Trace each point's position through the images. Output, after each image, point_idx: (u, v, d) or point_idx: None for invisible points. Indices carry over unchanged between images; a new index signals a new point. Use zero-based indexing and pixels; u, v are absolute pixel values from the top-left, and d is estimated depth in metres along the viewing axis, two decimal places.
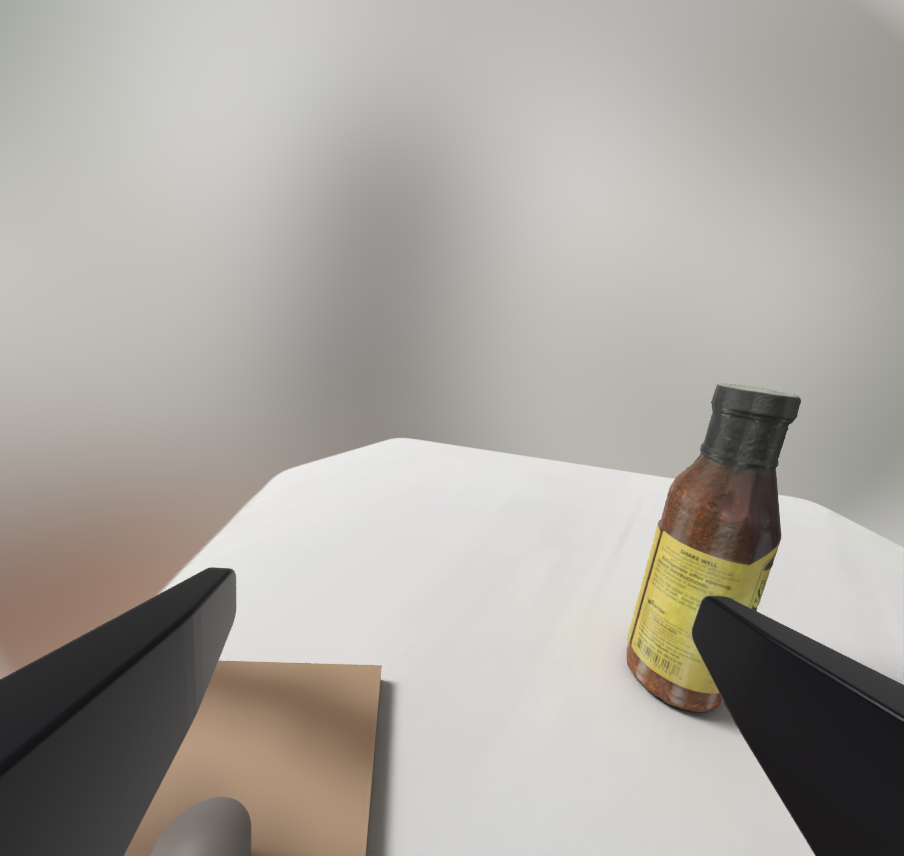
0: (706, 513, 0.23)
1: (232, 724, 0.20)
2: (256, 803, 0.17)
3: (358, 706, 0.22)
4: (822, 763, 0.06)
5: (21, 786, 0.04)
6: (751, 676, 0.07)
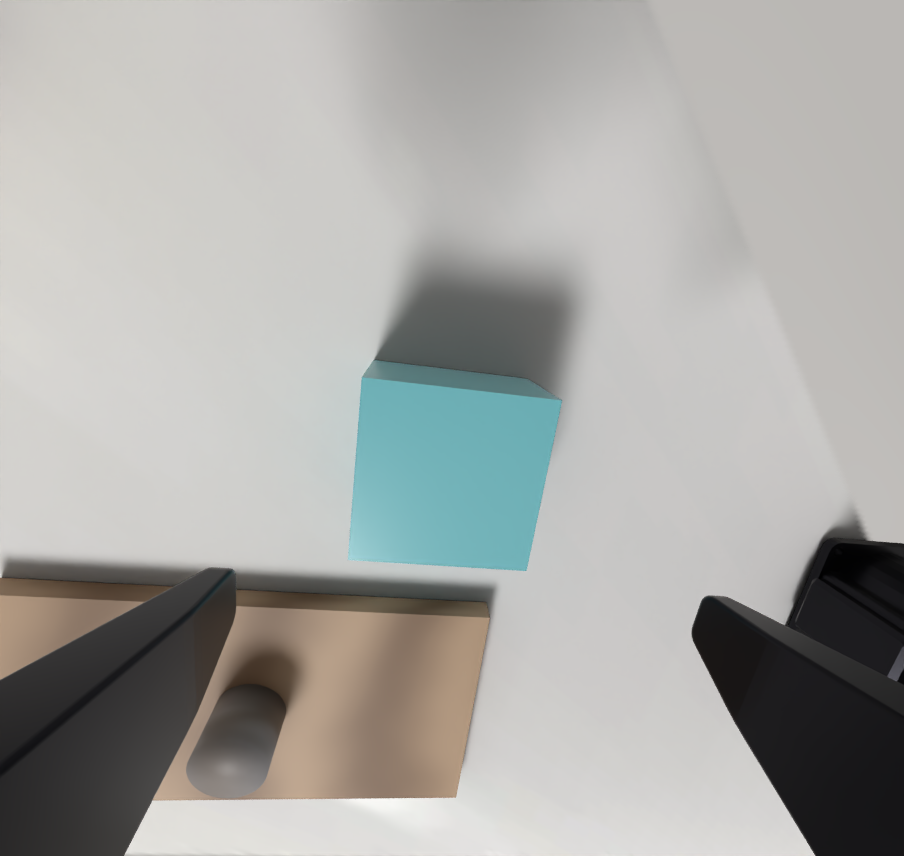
0: None
1: None
2: None
3: (56, 619, 0.16)
4: (822, 763, 0.06)
5: (21, 786, 0.04)
6: (751, 676, 0.07)
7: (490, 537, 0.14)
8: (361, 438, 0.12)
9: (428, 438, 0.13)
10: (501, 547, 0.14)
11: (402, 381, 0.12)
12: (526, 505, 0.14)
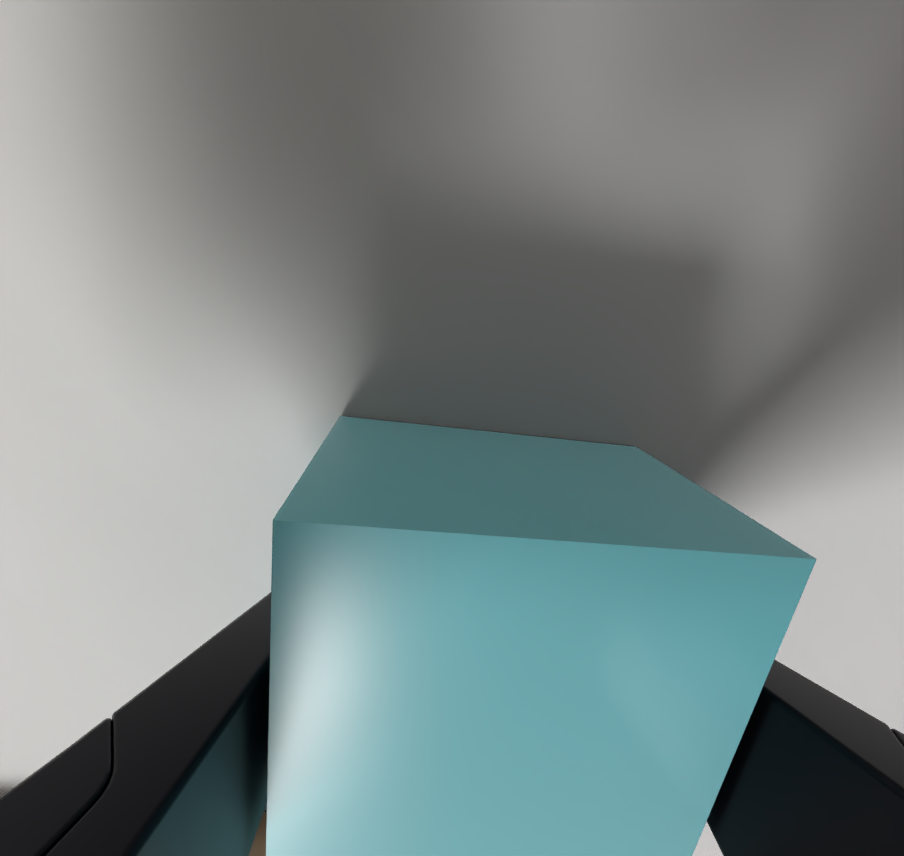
0: None
1: None
2: None
3: None
4: (733, 763, 0.06)
5: (202, 785, 0.04)
6: None
7: (601, 849, 0.06)
8: (281, 671, 0.05)
9: (463, 662, 0.05)
10: None
11: (393, 523, 0.04)
12: (691, 784, 0.06)
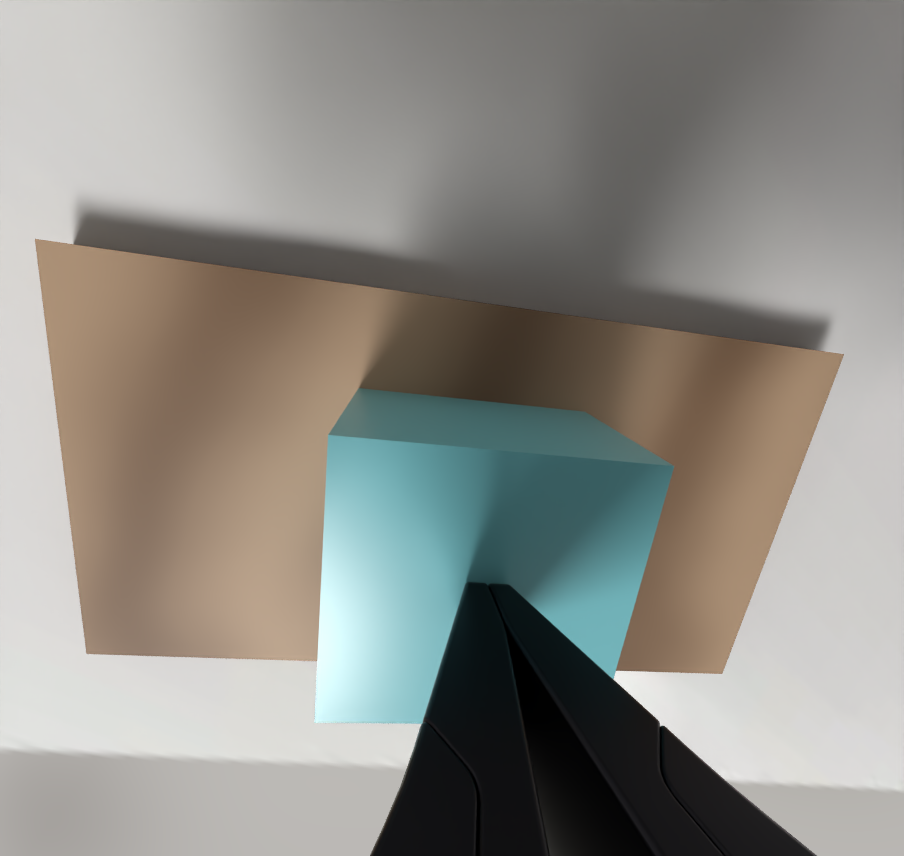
0: None
1: (223, 538, 0.11)
2: None
3: (170, 305, 0.10)
4: None
5: None
6: None
7: None
8: (330, 537, 0.07)
9: (446, 533, 0.07)
10: None
11: (400, 439, 0.07)
12: (605, 631, 0.08)
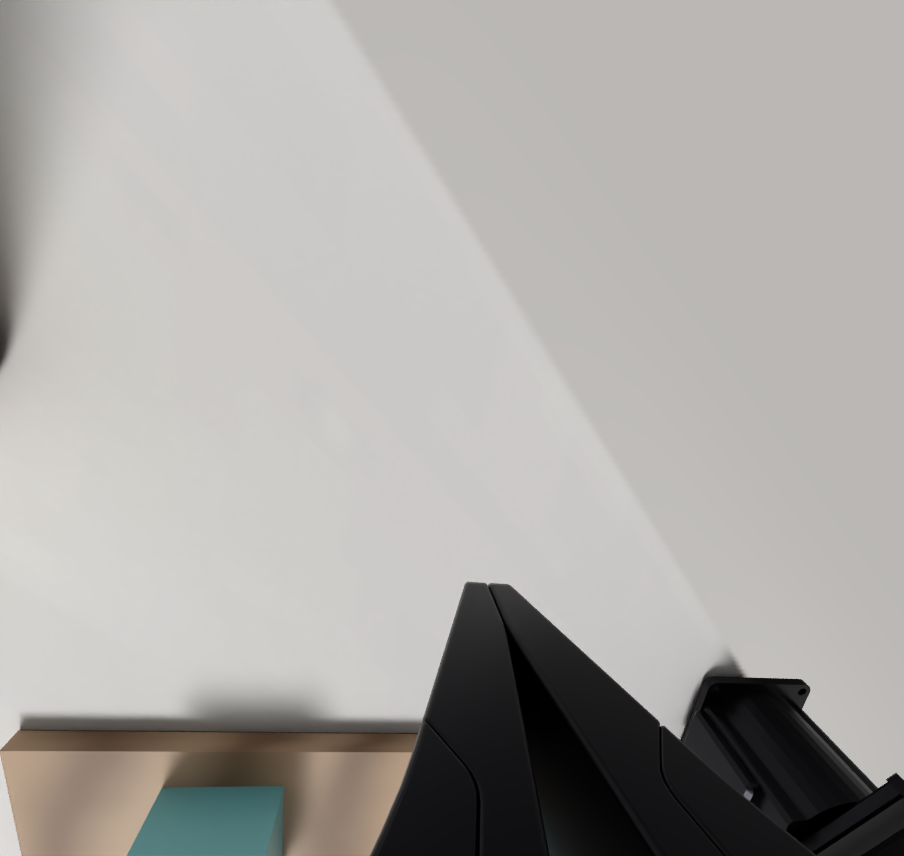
0: None
1: (100, 850, 0.22)
2: None
3: (64, 767, 0.20)
4: None
5: None
6: None
7: None
8: None
9: None
10: None
11: None
12: None
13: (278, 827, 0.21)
